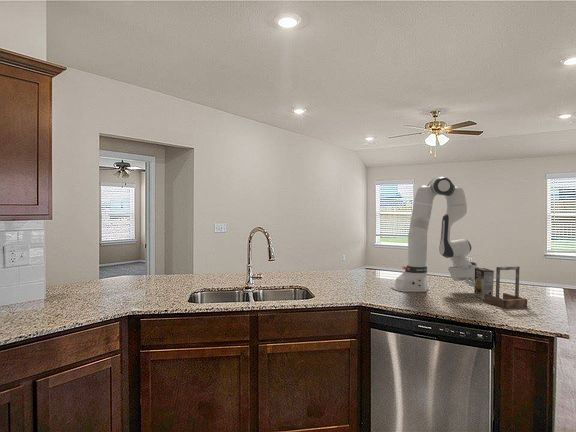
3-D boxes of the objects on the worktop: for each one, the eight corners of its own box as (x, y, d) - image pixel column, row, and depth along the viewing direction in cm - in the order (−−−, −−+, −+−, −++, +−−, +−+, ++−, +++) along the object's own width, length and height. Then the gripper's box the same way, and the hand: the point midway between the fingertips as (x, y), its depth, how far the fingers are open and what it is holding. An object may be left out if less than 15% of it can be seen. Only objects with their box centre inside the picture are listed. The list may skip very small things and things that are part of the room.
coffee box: (473, 295, 235) (474, 267, 235) (484, 295, 236) (485, 267, 236) (482, 299, 226) (483, 270, 226) (493, 299, 227) (494, 270, 226)
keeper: (505, 308, 207) (506, 269, 206) (483, 301, 221) (484, 264, 221) (527, 307, 210) (528, 268, 209) (504, 300, 225) (505, 264, 224)
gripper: (449, 263, 244) (459, 283, 235) (478, 262, 249) (489, 281, 240) (444, 270, 249) (454, 289, 240) (473, 269, 254) (484, 287, 245)
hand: (472, 285), depth 240 cm, fingers closed
